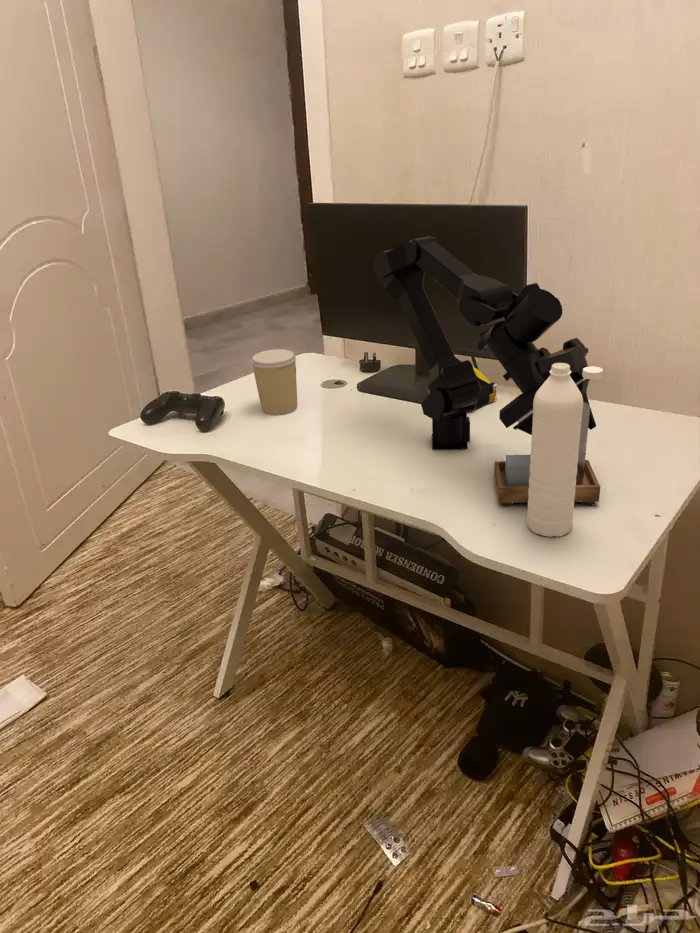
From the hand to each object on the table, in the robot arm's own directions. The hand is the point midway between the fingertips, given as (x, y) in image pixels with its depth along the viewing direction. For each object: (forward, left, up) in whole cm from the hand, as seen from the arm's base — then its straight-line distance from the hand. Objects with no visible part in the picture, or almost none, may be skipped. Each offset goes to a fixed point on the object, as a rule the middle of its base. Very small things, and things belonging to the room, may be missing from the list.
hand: (579, 438), depth 105 cm
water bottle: (-4, -10, -10) cm, 15 cm away
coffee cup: (-55, +39, -10) cm, 68 cm away
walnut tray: (-5, +1, -10) cm, 11 cm away
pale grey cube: (-9, +1, -8) cm, 12 cm away
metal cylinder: (-1, +1, -8) cm, 8 cm away
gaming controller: (-15, +40, -10) cm, 44 cm away
